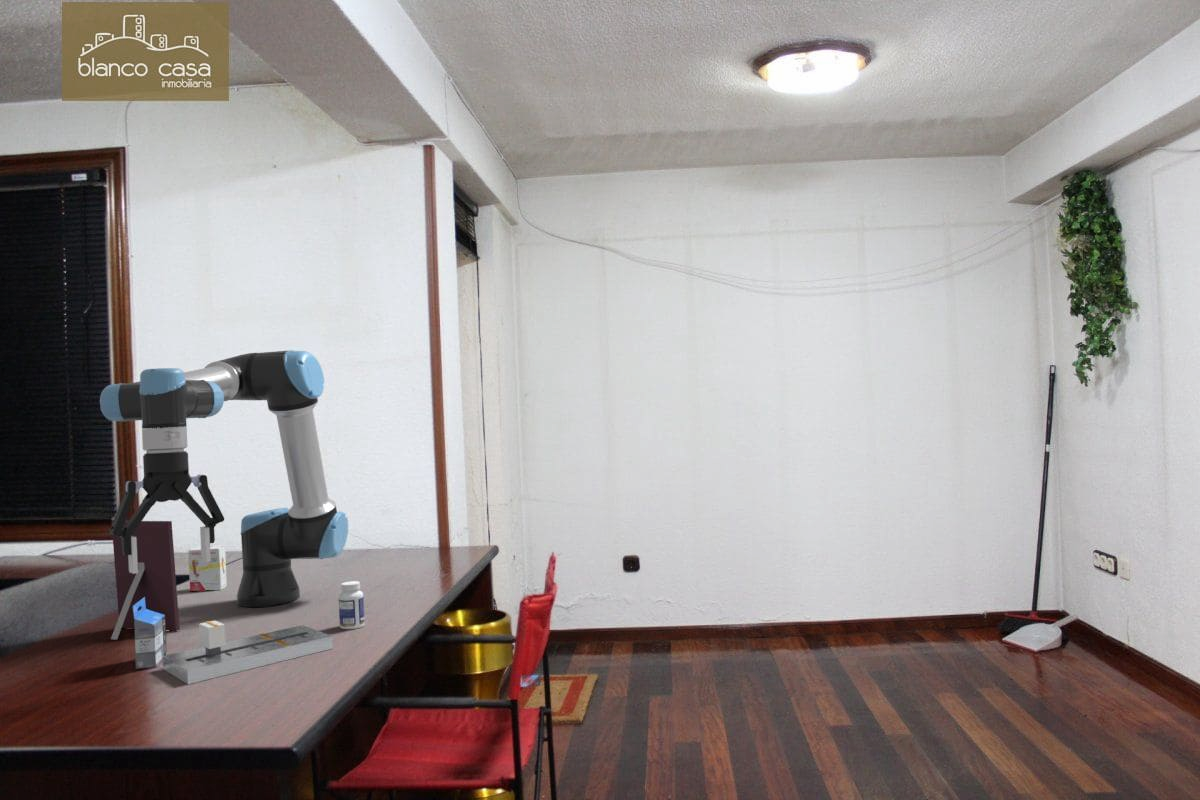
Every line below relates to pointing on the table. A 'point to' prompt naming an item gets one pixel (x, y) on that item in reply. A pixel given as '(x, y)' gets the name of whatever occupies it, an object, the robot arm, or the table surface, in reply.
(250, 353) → the robot arm
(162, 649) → the label tape cartridge
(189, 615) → the table surface
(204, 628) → the fader knob
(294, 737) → the table surface
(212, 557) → the ink box
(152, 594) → the picture frame
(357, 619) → the pill bottle
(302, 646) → the console
